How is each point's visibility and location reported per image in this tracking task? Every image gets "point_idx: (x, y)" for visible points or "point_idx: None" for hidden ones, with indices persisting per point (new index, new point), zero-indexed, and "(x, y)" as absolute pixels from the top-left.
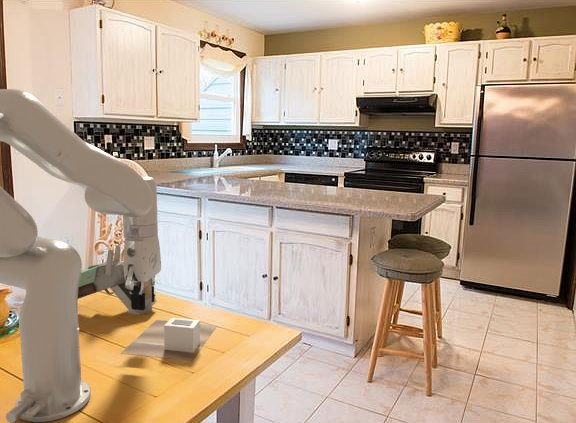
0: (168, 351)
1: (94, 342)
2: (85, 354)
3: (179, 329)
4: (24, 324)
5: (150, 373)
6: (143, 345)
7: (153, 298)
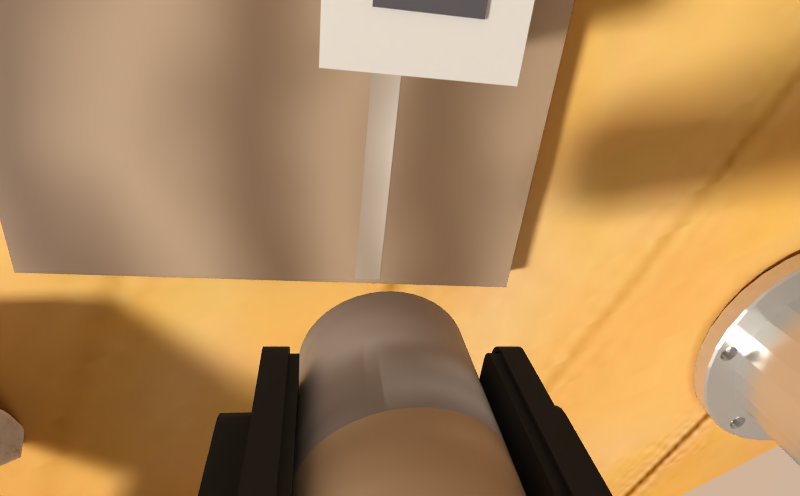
0: None
1: None
2: None
3: None
4: None
5: (663, 62)
6: (411, 210)
7: (284, 374)
